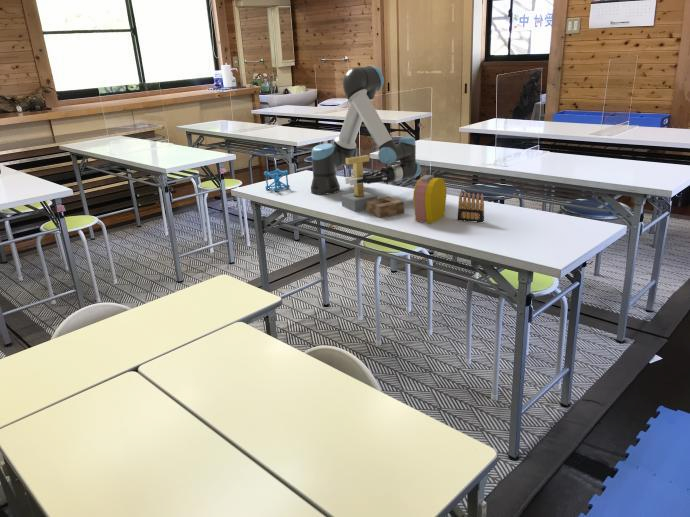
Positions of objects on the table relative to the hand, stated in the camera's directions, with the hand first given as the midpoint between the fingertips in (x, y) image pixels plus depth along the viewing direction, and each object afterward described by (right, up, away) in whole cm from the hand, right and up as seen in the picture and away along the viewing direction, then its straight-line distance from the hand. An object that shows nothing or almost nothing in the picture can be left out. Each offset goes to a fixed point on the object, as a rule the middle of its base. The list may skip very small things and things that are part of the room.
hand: (348, 181), depth 244 cm
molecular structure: (-37, +2, +46) cm, 59 cm away
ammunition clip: (+50, -19, -22) cm, 58 cm away
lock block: (+16, -14, -4) cm, 22 cm away
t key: (+5, -9, +6) cm, 12 cm away
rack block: (+5, -10, +7) cm, 14 cm away
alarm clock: (+34, -18, -16) cm, 42 cm away
